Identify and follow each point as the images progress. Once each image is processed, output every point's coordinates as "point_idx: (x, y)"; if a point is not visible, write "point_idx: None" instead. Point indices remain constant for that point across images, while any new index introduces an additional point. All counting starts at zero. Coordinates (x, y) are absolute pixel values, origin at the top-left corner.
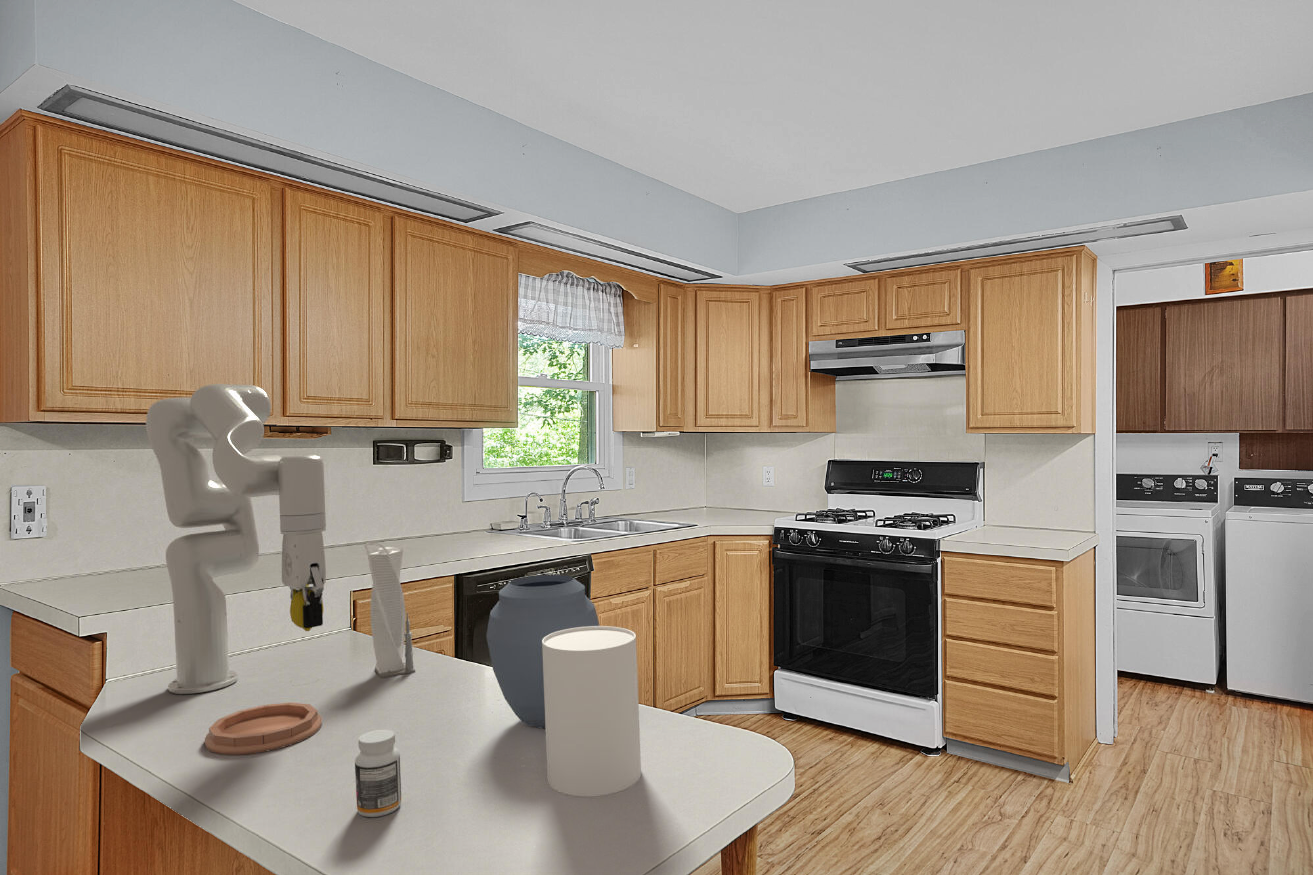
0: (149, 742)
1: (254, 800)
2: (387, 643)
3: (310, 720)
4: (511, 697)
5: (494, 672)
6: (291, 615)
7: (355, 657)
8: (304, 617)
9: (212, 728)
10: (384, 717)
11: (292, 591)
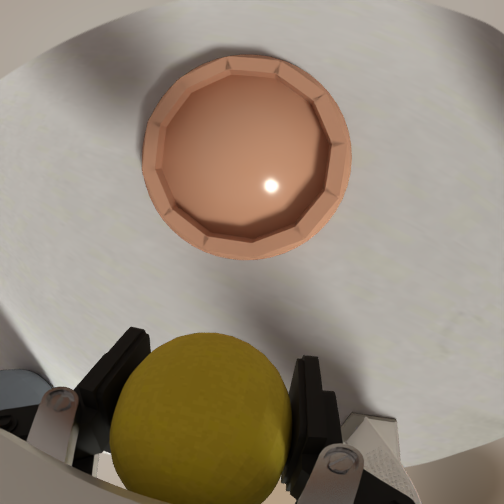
0: (376, 21)
1: (32, 84)
2: (367, 462)
3: (161, 215)
4: (3, 373)
5: (2, 391)
6: (202, 345)
7: (466, 415)
8: (110, 352)
9: (273, 64)
10: (154, 324)
11: (314, 494)
